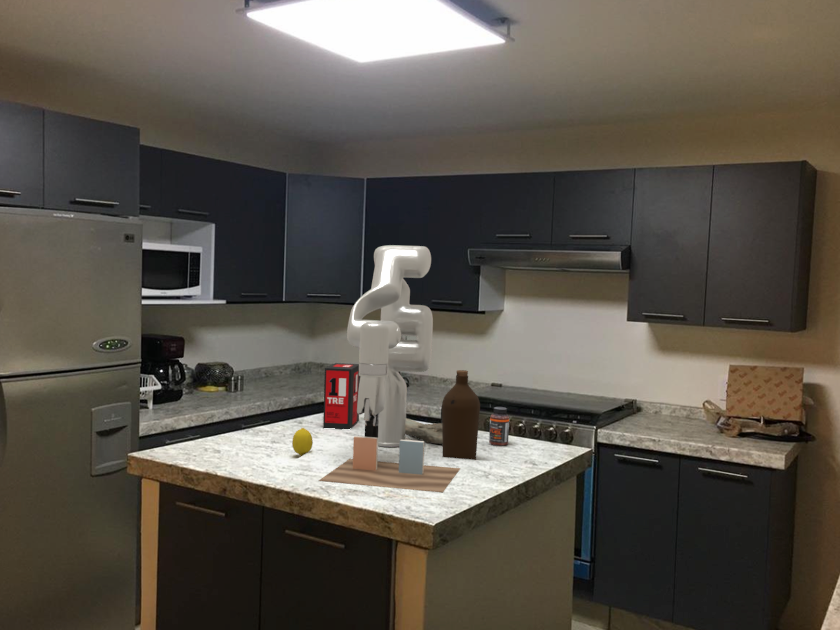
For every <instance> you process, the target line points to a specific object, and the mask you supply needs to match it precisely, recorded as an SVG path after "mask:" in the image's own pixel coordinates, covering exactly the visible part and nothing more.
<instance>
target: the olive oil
mask: <svg viewBox="0 0 840 630" xmlns="http://www.w3.org/2000/svg"><path fill="white" fill-rule="evenodd" d="M468 374H469V371H468V370H467V369H466V370H464V369H457V370H456V375H455V384H454V385H453V386H452V387H451V389H449V390H448V391H447V392H446V393H445V395H444V397H443V400H442V403H441V419H442V420H441V423H442V438H443V444H441V446H442V452H441V453H442V454H441V455H442V458H446V459H447V458H448V459H457V460H459V459H460V460H469V461H470V460H473V461H476V460H477V451H478V450H477V449H478V448H477V447H478V434H479V425H480V424H479V422H480V413H481V412H480V411H481V402H480V399H479V396H478V394H476V392H475V391H474V390H473V389H472V387H471V386H470V385H469V375H468Z"/></svg>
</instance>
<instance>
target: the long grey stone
mask: <svg viewBox="0 0 840 630" xmlns="http://www.w3.org/2000/svg"><path fill="white" fill-rule="evenodd" d="M405 435H407V436H409V437H410V436H411V437H414V438H415V439H417V440H419V441H424V443H428V444H430V443H431V444H439V445H442V444H443V438H442V422H441V423H439V422H438V423H435V422H433V423H432V424H431V423H427V424H425V423H422V422H420V421H416V420H413V419H411V418H407V417H406V427H405Z"/></svg>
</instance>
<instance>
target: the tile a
mask: <svg viewBox="0 0 840 630" xmlns="http://www.w3.org/2000/svg"><path fill="white" fill-rule="evenodd" d="M352 445H353V446H352V447H353V448H352V450H353V451H352V459H353V469H365V470H377V461H379V459H378V458H379V457H378V454H379V446H378V438H375V437H365V436H361V435H360V436H359V435H355V436H353V442H352Z"/></svg>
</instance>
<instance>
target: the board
mask: <svg viewBox="0 0 840 630" xmlns="http://www.w3.org/2000/svg"><path fill="white" fill-rule="evenodd" d="M460 470H461V467H460V468H459V467H450V466H449V467H448V466H437V465H427V464H424V471H423V474H422V475H421V474H409V473H399V462H391V461H380V460H378V461H377V470H365V469H353V458H348V459H347V460H346V461H344V462H342V463H341V464H340V465H339V466H337V467H335V468H334V469H333V470H331V471H330V472H329V473H327V474H326V475H324V476H323V477H321V478H320V479H319V480H318V482H325V483H326V482H327V483H336V484H338V483H339V484H348V485H357V486H367V487H379V488H388V489H389V488H390V489H398V490H399V489H400V490H409V491H410V490H413V491H422V492H432V493H433V492H434V493H444V492H445V491H446V489H447V488H448V486H449V485H450V484H451V482H452V480H454V479H455V477H456V475H457V474H458V472H460ZM354 491H356V490H354ZM426 498H428V497H426Z"/></svg>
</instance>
